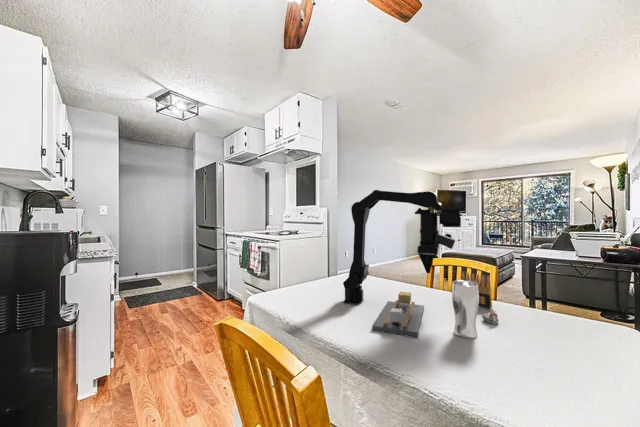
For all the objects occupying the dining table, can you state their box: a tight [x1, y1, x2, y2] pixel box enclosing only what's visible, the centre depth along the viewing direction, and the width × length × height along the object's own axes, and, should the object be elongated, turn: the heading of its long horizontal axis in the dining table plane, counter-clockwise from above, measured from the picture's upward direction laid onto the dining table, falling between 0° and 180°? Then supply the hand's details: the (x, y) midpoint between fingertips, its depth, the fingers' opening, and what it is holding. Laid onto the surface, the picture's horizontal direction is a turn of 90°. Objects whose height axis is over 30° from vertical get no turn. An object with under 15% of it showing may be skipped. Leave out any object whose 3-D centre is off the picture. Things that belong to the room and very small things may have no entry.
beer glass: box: [451, 279, 479, 340], centre depth 82 cm, size 7×7×15 cm
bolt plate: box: [371, 299, 425, 339], centre depth 94 cm, size 13×25×2 cm, turn 156°
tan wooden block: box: [397, 291, 412, 304], centre depth 104 cm, size 4×4×3 cm
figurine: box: [481, 306, 499, 325], centre depth 91 cm, size 5×4×6 cm
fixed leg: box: [391, 308, 402, 324], centre depth 87 cm, size 3×3×4 cm
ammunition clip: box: [460, 271, 493, 310], centre depth 108 cm, size 11×2×12 cm, turn 44°
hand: (429, 270), depth 101 cm, fingers open, 9 cm apart
